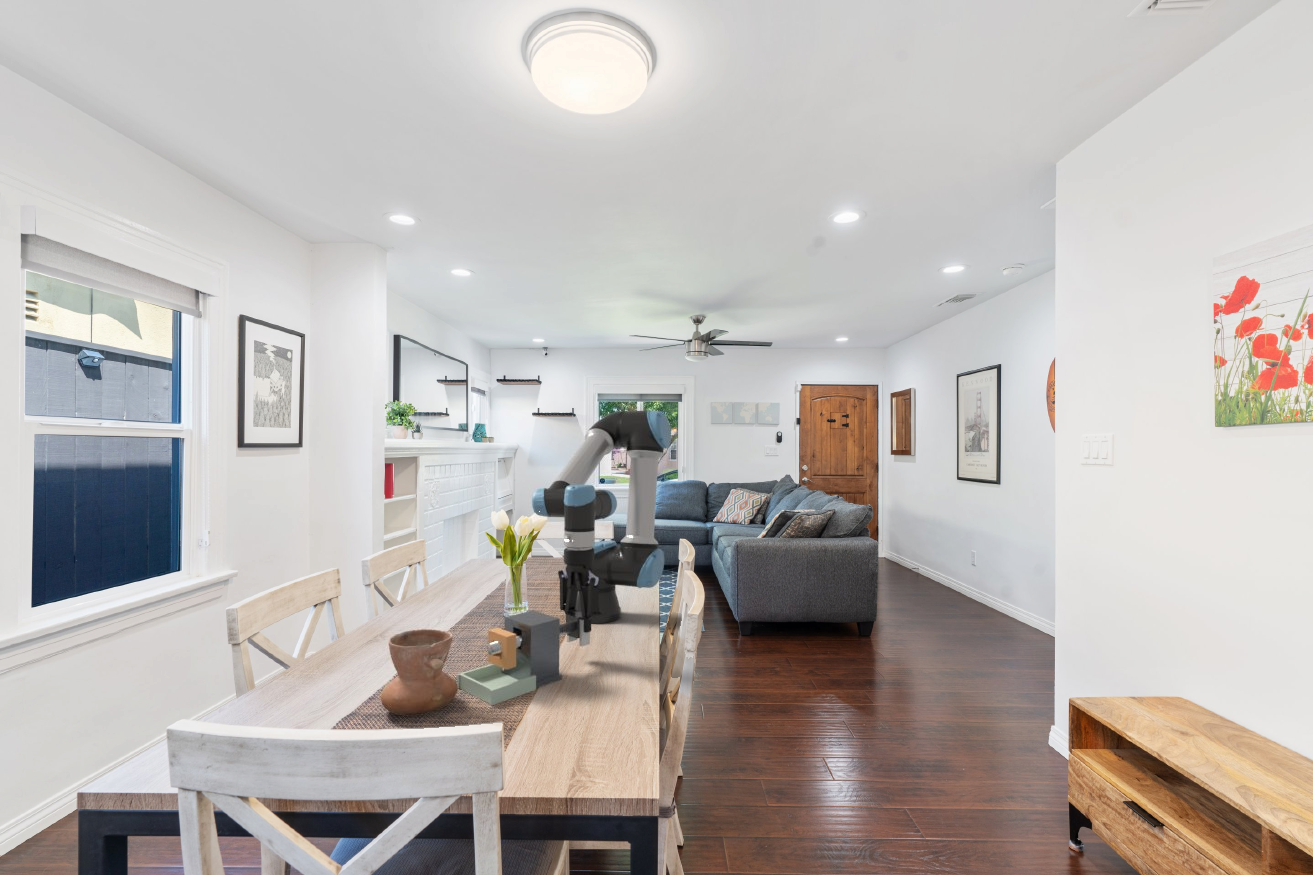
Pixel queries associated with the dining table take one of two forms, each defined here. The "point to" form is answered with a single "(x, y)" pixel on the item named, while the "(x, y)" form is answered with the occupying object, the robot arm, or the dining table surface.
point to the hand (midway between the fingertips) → (578, 642)
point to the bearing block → (535, 647)
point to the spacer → (503, 648)
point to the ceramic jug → (419, 673)
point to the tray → (494, 684)
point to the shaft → (570, 628)
